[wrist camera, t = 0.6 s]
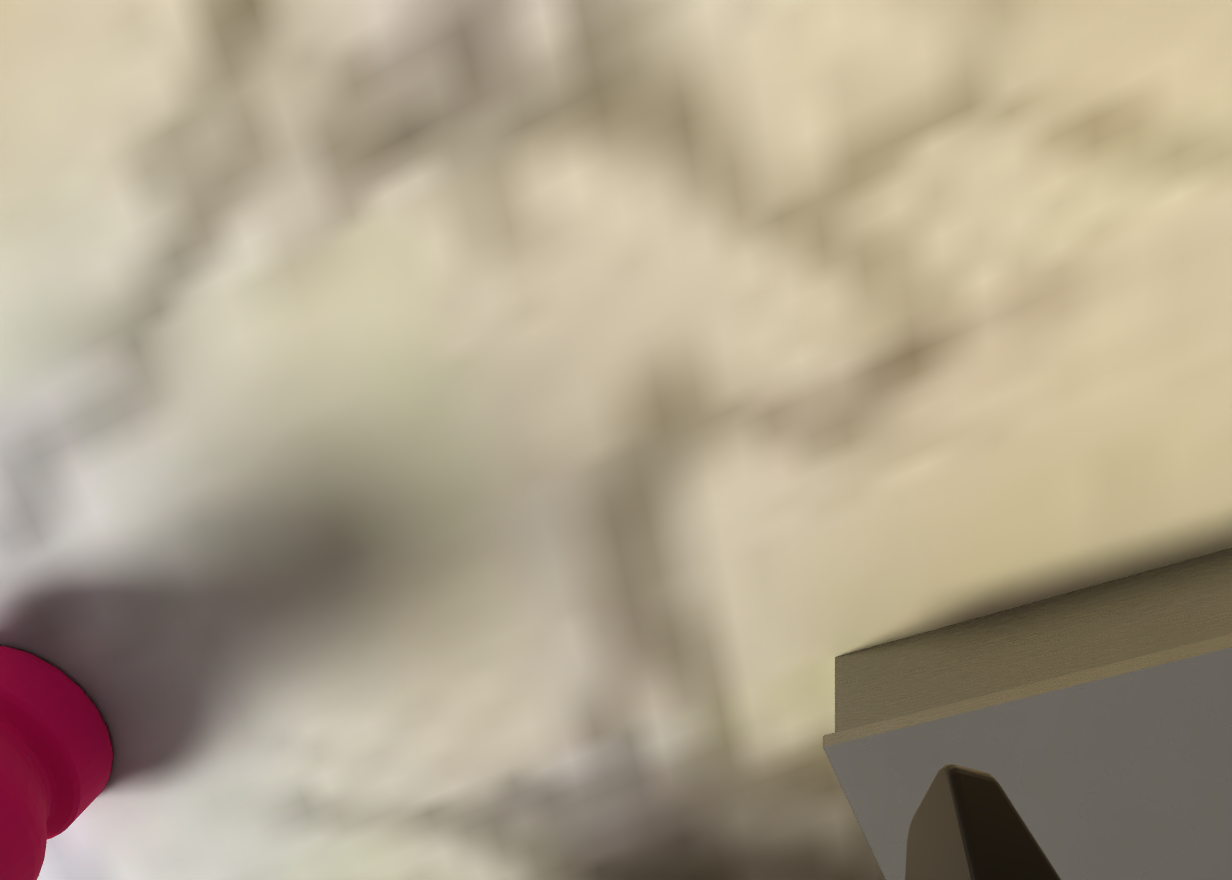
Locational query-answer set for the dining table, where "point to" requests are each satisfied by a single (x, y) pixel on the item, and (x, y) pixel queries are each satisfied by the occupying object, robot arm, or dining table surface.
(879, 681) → the slate tin
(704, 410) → the dining table surface
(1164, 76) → the dining table surface
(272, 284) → the dining table surface
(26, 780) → the pepper mill
